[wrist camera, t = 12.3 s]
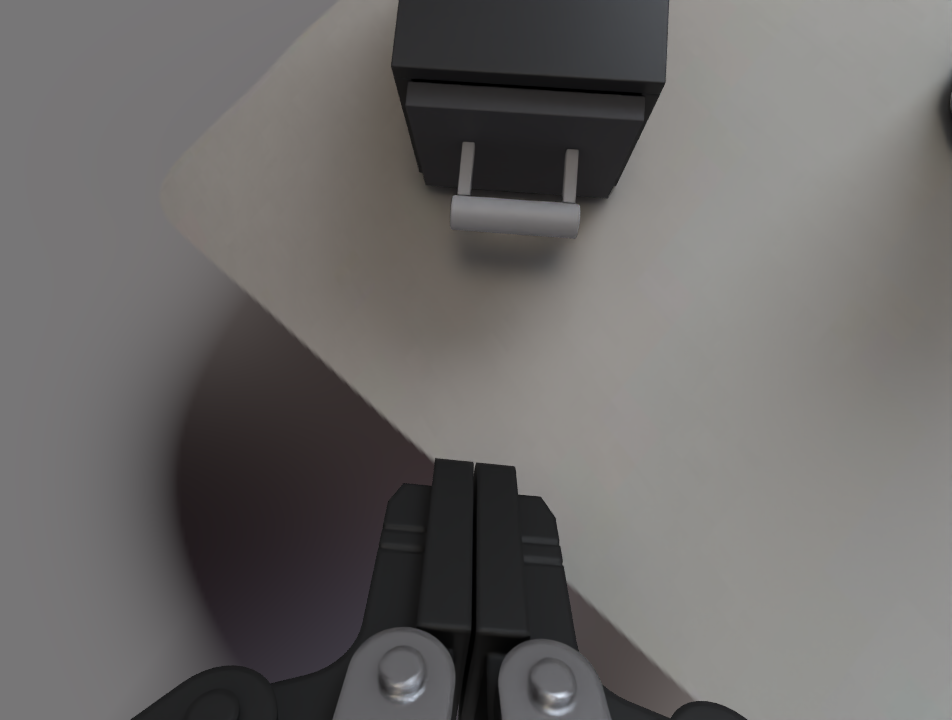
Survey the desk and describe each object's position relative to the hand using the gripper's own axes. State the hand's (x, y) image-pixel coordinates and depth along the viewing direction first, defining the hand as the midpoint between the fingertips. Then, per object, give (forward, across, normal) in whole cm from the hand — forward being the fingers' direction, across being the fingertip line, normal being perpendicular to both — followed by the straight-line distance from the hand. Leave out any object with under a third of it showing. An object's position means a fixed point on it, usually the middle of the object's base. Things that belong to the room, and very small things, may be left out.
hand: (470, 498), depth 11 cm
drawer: (+27, +2, +5) cm, 28 cm away
